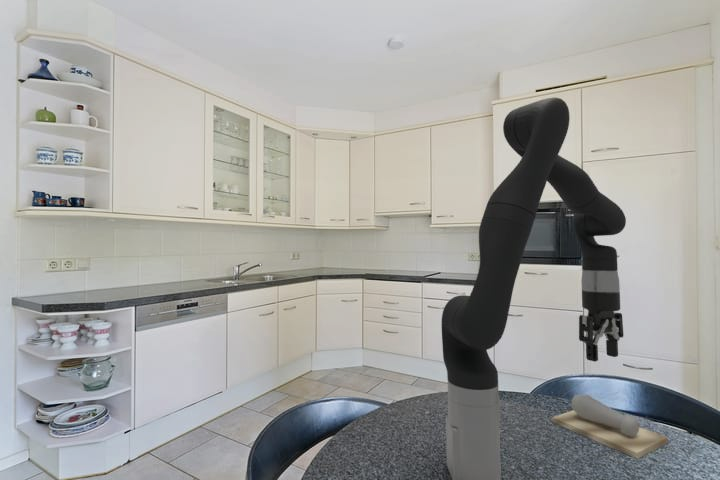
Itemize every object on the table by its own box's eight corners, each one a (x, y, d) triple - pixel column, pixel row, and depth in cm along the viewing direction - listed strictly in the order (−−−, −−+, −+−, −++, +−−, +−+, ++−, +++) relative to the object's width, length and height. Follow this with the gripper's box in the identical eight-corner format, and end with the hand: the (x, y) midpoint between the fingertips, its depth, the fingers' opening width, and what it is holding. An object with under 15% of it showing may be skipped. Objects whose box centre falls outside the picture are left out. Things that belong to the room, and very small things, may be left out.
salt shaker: (576, 418, 87) (636, 447, 76) (566, 407, 85) (626, 435, 74) (585, 398, 89) (645, 423, 78) (576, 386, 87) (636, 410, 76)
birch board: (552, 422, 86) (552, 417, 86) (583, 411, 92) (583, 406, 92) (637, 459, 70) (637, 452, 70) (668, 443, 76) (667, 437, 76)
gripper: (600, 291, 76) (603, 366, 75) (633, 289, 83) (636, 358, 82) (566, 289, 83) (568, 358, 82) (600, 287, 90) (602, 351, 89)
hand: (602, 358), depth 82 cm, fingers open, 8 cm apart
